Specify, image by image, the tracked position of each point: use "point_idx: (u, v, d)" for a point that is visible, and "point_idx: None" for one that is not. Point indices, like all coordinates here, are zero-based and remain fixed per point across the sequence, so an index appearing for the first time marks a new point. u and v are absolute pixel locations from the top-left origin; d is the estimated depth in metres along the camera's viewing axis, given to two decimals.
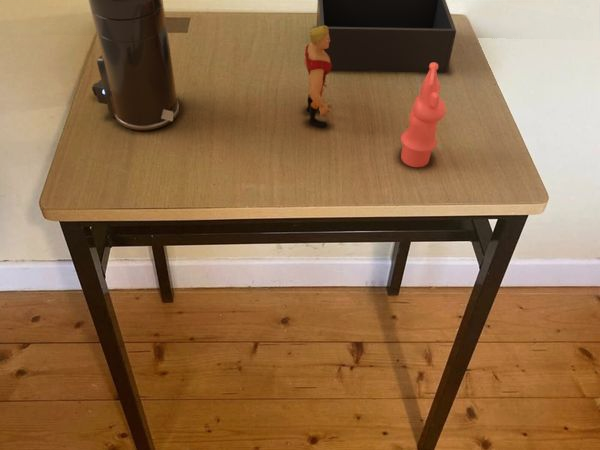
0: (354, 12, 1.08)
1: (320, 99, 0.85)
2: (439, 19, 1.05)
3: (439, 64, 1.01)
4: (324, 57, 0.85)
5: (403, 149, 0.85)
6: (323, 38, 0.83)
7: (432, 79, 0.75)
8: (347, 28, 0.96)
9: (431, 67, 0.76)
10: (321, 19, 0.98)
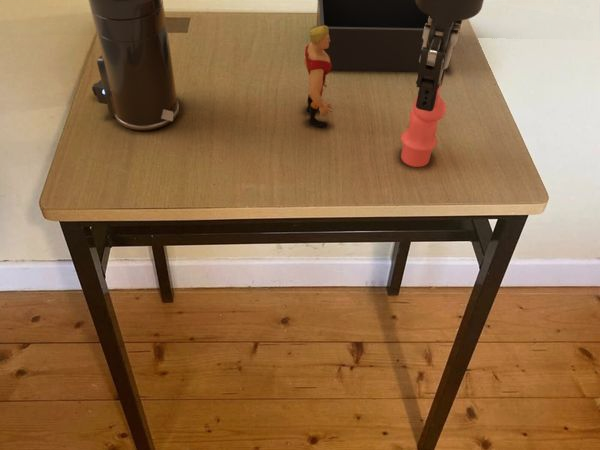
0: (354, 12, 1.08)
1: (320, 99, 0.85)
2: None
3: None
4: (324, 57, 0.85)
5: (404, 149, 0.85)
6: (323, 38, 0.83)
7: None
8: (347, 28, 0.96)
9: None
10: (321, 19, 0.98)
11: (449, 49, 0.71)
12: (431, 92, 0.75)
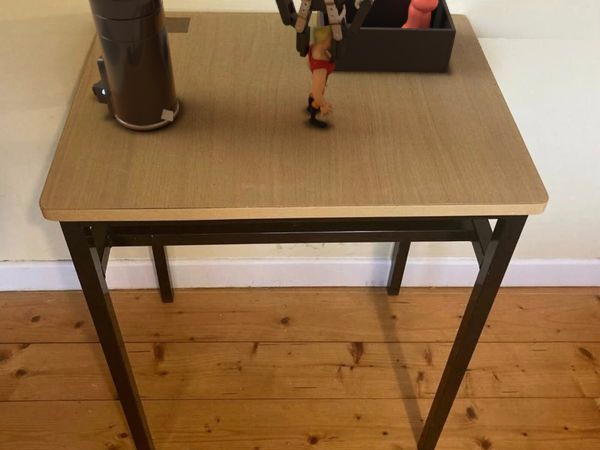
0: (354, 12, 1.08)
1: (322, 99, 0.85)
2: (439, 19, 1.05)
3: (439, 64, 1.01)
4: (327, 57, 0.85)
5: None
6: (327, 38, 0.83)
7: None
8: None
9: None
10: (321, 19, 0.98)
11: (302, 0, 0.79)
12: None
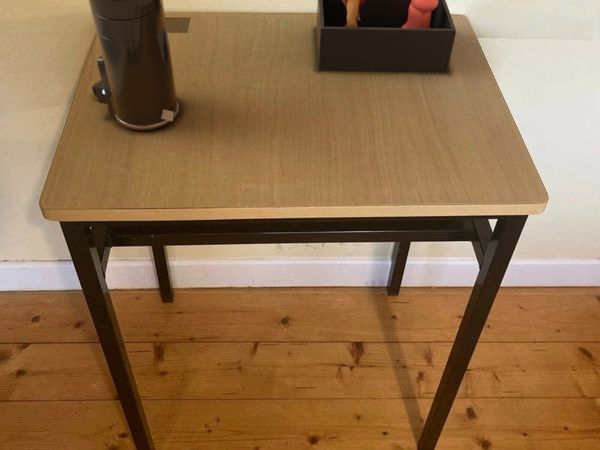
0: None
1: (355, 25, 0.98)
2: (439, 19, 1.05)
3: (439, 64, 1.01)
4: None
5: None
6: None
7: None
8: (347, 28, 0.96)
9: None
10: (321, 19, 0.98)
11: None
12: None
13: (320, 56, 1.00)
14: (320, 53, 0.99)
